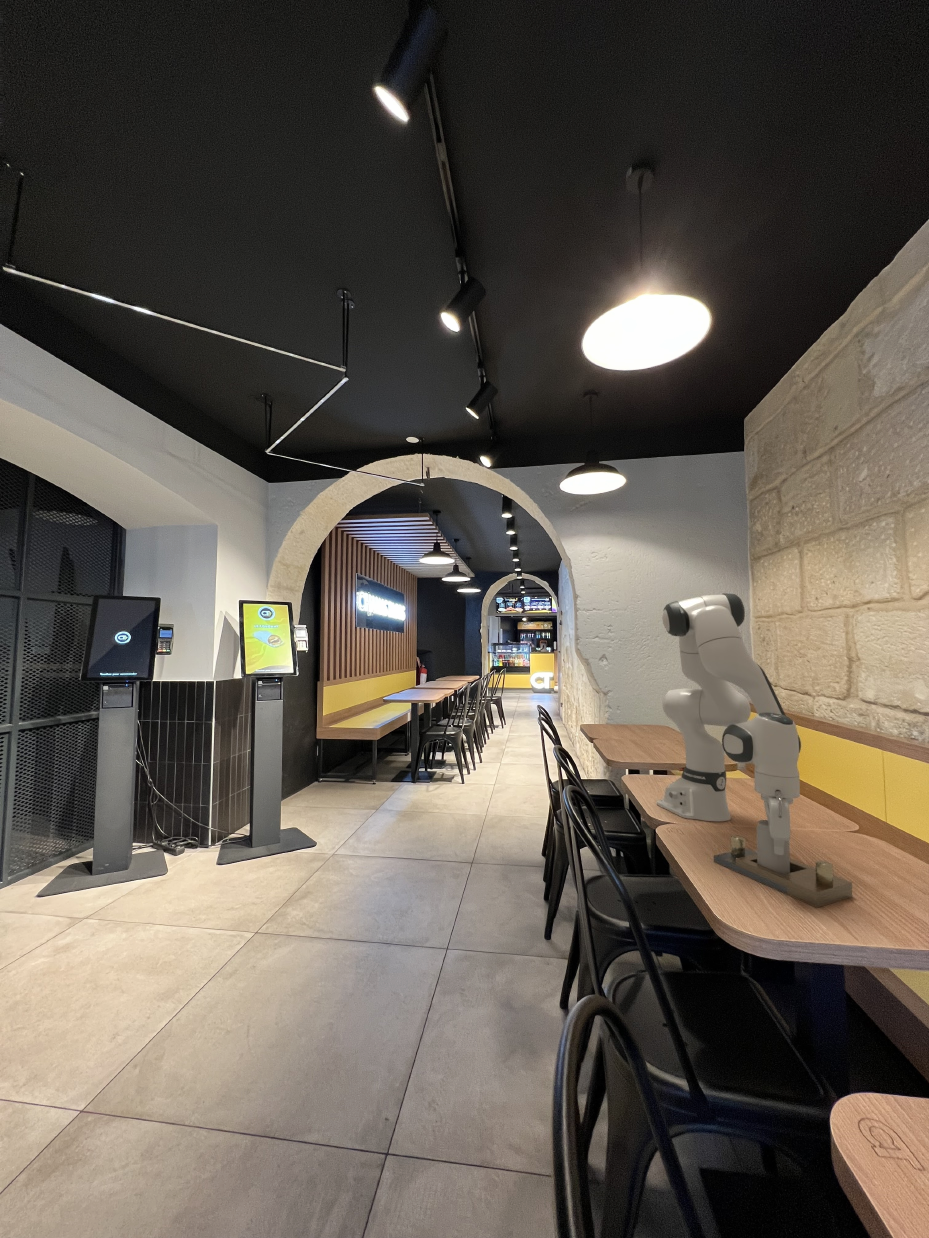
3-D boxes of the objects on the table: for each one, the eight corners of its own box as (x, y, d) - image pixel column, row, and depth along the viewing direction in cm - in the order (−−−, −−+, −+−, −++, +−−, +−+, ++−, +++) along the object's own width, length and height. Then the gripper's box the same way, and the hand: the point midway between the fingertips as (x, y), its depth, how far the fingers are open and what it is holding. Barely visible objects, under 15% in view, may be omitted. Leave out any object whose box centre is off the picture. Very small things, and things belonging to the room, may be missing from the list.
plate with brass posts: (713, 861, 125) (713, 832, 125) (747, 854, 130) (747, 826, 130) (816, 907, 103) (816, 871, 103) (852, 896, 108) (851, 862, 108)
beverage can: (782, 886, 112) (781, 830, 113) (751, 875, 117) (751, 821, 118) (795, 879, 116) (794, 825, 117) (765, 869, 121) (764, 817, 122)
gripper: (797, 798, 107) (799, 867, 106) (788, 778, 125) (789, 836, 124) (762, 794, 110) (763, 860, 109) (758, 775, 128) (759, 831, 127)
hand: (777, 847), depth 117 cm, fingers closed on beverage can, 6 cm apart
